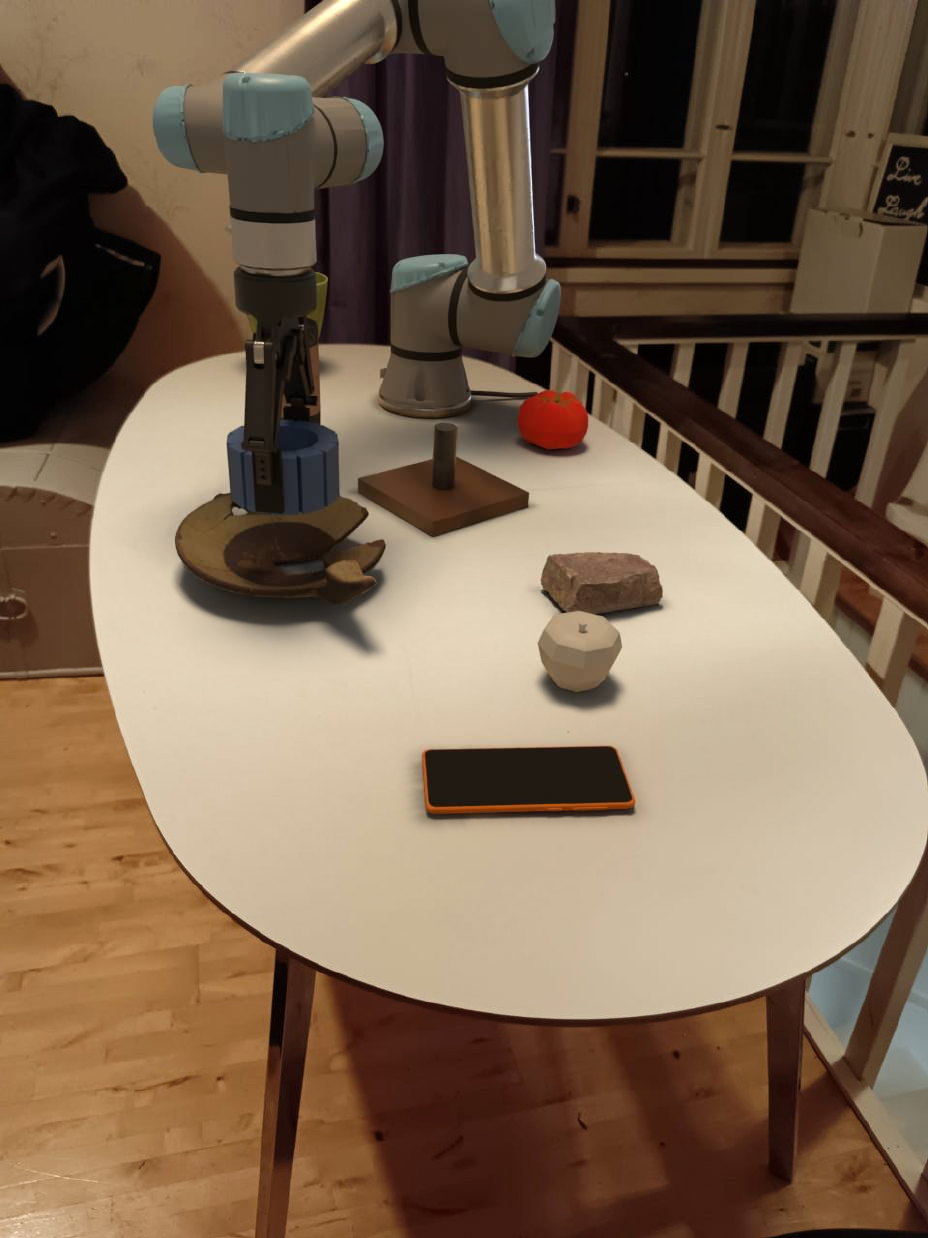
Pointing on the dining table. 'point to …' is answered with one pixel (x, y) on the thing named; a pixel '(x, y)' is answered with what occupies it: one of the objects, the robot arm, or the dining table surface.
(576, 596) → the stone
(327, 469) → the ring
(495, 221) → the robot arm
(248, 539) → the brown shallow round piece
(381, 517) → the dining table surface
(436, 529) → the platform
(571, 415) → the tomato
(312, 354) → the travel mug
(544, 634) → the apple
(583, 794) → the smartphone
